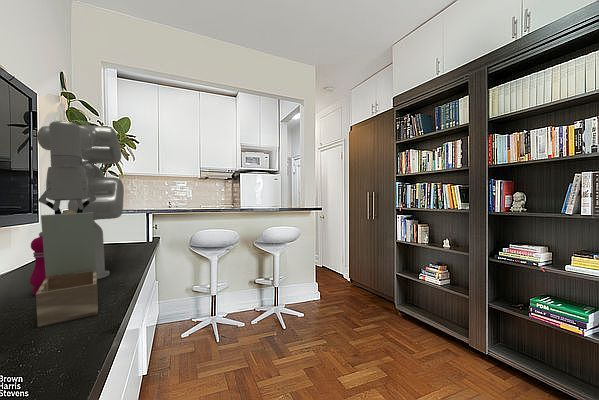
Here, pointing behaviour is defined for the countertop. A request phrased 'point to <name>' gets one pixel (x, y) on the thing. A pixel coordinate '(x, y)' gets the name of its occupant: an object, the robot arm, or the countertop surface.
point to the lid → (68, 243)
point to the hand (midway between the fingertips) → (69, 222)
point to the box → (67, 298)
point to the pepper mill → (38, 264)
